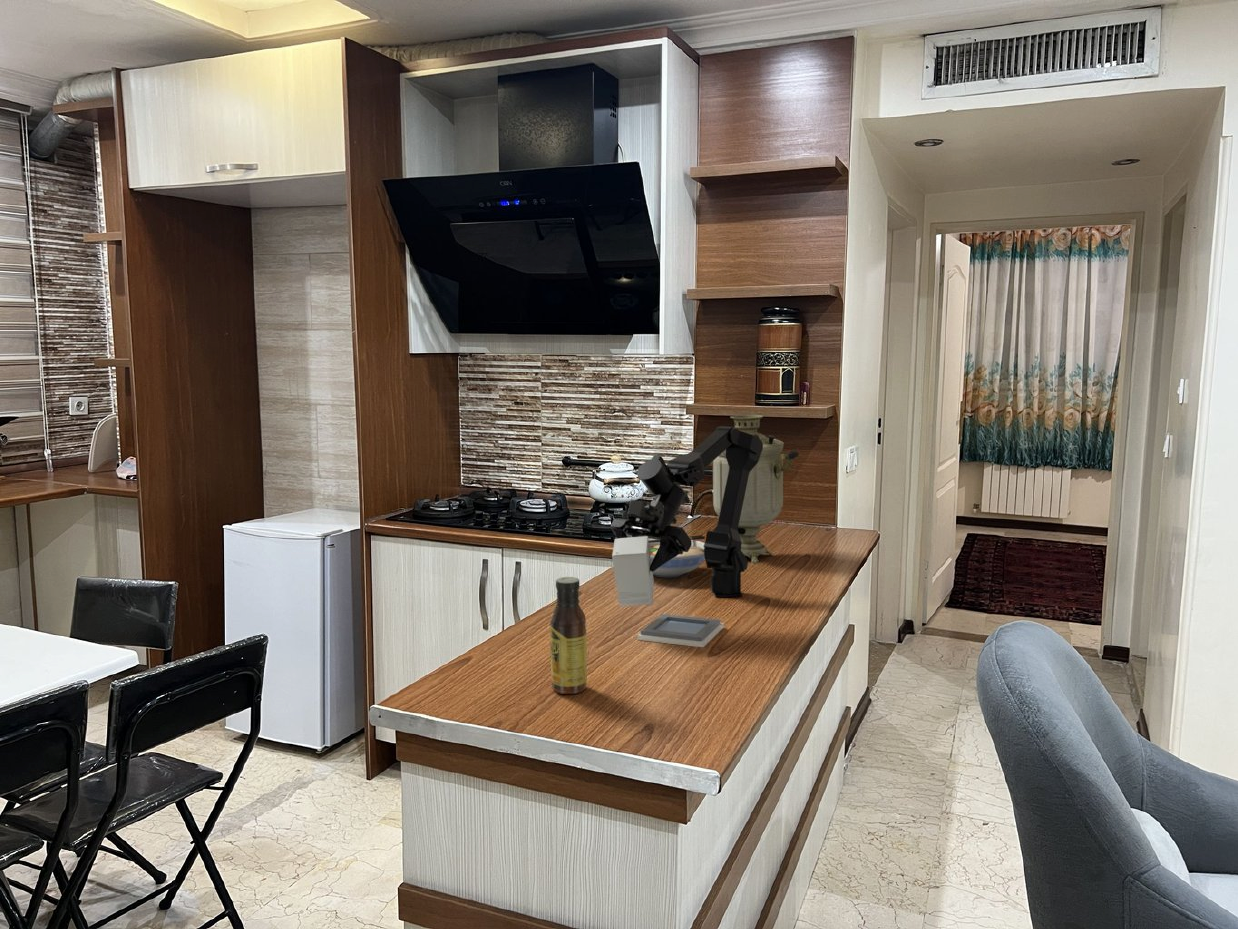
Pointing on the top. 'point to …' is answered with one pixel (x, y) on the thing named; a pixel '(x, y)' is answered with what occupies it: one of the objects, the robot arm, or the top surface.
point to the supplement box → (633, 571)
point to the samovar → (755, 486)
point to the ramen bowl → (679, 558)
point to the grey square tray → (681, 630)
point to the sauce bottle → (568, 640)
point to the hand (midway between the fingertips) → (633, 567)
